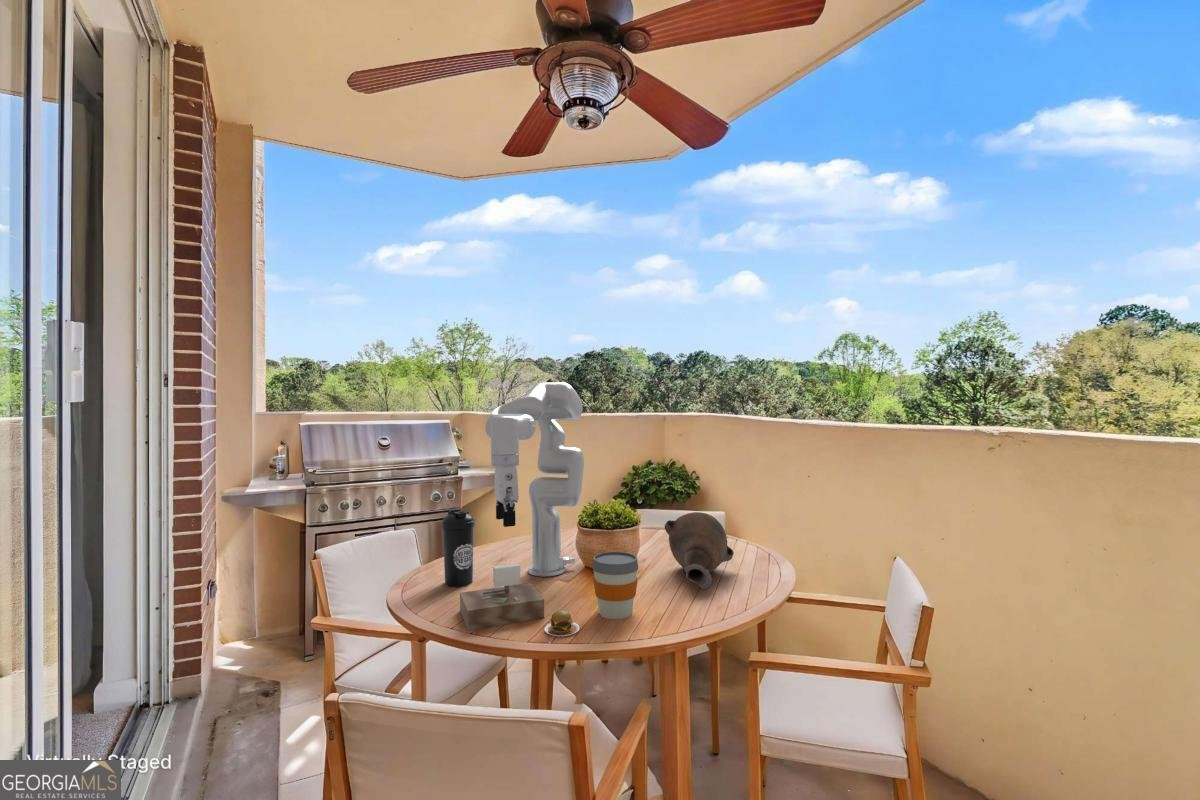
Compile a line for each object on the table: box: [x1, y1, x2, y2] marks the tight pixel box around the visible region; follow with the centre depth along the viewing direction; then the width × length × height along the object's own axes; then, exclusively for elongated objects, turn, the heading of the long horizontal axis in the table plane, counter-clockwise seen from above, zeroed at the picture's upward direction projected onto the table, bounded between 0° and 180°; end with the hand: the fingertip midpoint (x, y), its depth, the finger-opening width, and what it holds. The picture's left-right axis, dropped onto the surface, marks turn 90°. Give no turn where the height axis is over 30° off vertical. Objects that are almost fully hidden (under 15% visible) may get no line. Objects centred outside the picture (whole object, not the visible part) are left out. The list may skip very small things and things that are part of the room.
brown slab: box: [459, 582, 545, 631], centre depth 153 cm, size 20×14×5 cm
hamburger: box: [543, 609, 581, 637], centre depth 142 cm, size 12×12×6 cm
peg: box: [483, 563, 521, 594], centre depth 155 cm, size 10×2×7 cm, turn 112°
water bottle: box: [441, 508, 476, 588], centre depth 179 cm, size 10×10×23 cm
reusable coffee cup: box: [592, 551, 639, 620], centre depth 153 cm, size 12×13×15 cm
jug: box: [664, 511, 734, 590], centre depth 183 cm, size 20×20×30 cm
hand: (505, 522), depth 155 cm, fingers open, 9 cm apart
